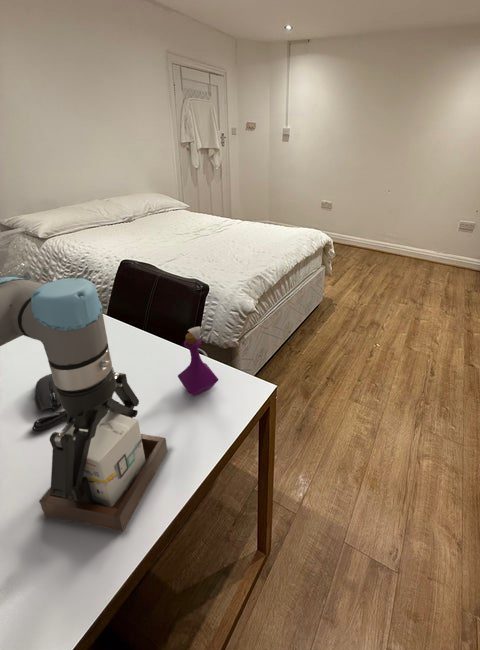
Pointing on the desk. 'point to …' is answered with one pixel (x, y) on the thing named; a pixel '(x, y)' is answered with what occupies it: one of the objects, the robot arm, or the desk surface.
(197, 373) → the perfume bottle
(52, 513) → the wooden tray
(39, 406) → the computer mouse
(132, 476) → the ink box
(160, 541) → the desk surface
